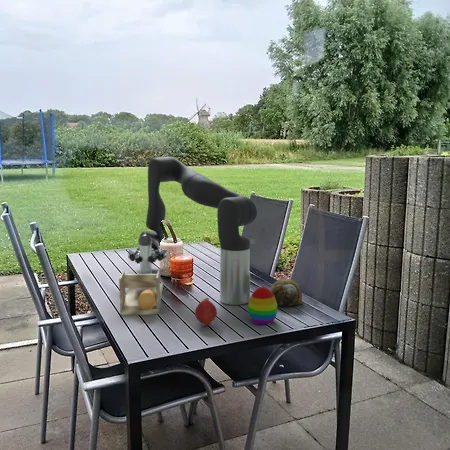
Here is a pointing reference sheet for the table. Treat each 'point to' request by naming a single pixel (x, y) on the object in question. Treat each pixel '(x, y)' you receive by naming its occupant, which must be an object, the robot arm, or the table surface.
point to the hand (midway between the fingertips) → (145, 260)
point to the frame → (138, 292)
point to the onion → (205, 312)
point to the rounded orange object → (147, 300)
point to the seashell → (287, 292)
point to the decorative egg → (262, 306)
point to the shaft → (145, 257)
